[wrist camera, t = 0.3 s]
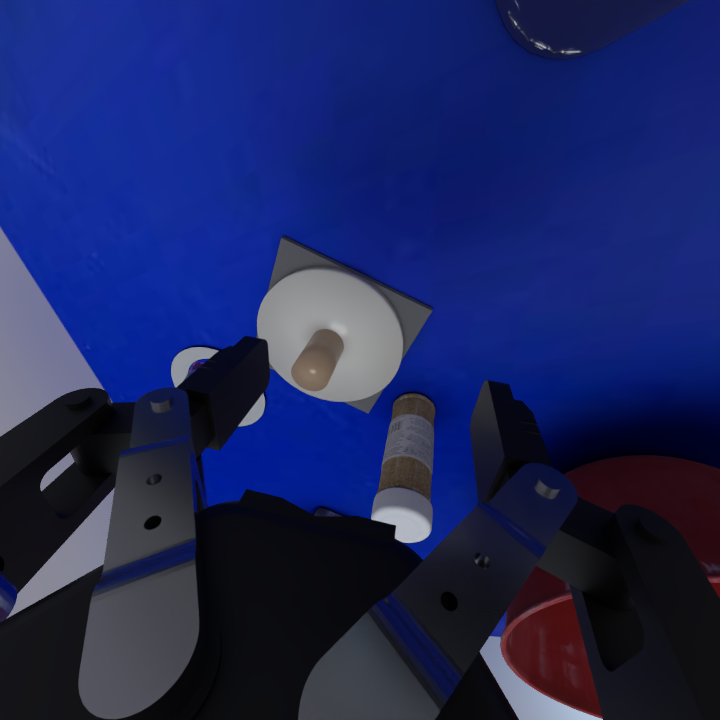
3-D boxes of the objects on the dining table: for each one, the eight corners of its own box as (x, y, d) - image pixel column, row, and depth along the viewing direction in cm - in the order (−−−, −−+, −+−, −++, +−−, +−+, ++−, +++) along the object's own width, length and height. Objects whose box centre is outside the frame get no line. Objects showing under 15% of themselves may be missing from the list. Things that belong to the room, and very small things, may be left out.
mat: (284, 235, 28) (281, 237, 28) (432, 308, 29) (432, 311, 28) (253, 356, 36) (250, 359, 36) (369, 409, 37) (368, 413, 37)
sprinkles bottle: (409, 428, 37) (393, 549, 27) (384, 401, 36) (357, 517, 25) (444, 413, 35) (443, 539, 24) (419, 384, 34) (407, 504, 23)
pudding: (247, 435, 45) (226, 467, 41) (165, 387, 43) (135, 415, 39) (283, 383, 38) (263, 415, 34) (189, 324, 36) (155, 349, 32)
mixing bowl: (647, 340, 27) (824, 523, 14) (891, 498, 30) (1210, 762, 17) (437, 495, 43) (433, 643, 31) (609, 586, 46) (669, 754, 34)
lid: (281, 237, 28) (245, 261, 23) (432, 310, 28) (429, 349, 23) (251, 359, 36) (219, 396, 31) (368, 413, 37) (356, 457, 32)
